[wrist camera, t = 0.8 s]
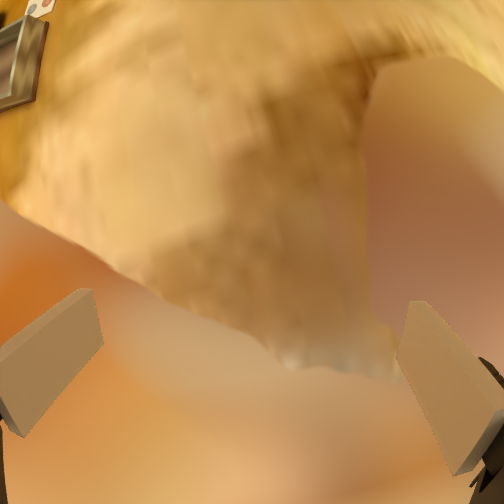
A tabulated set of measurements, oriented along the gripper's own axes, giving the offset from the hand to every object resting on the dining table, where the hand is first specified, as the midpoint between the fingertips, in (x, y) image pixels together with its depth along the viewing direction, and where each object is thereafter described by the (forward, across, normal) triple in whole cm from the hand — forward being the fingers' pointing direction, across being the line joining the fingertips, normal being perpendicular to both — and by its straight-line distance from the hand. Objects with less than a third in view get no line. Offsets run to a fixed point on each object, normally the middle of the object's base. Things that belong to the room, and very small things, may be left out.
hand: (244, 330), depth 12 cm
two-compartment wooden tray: (+28, -52, +28) cm, 65 cm away
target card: (+28, -40, +40) cm, 64 cm away
